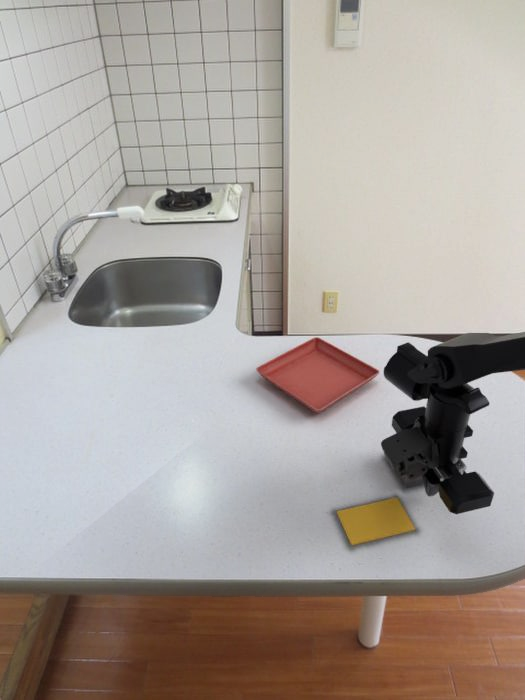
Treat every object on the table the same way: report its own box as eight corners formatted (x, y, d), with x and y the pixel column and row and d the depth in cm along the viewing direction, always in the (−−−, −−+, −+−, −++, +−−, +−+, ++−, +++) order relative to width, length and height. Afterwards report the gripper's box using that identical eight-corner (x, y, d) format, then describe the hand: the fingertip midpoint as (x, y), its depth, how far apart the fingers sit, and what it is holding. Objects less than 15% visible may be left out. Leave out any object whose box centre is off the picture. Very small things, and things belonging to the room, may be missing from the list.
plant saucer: (316, 347, 118) (316, 335, 116) (380, 383, 106) (381, 370, 104) (254, 381, 108) (254, 368, 106) (318, 425, 97) (318, 411, 95)
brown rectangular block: (433, 483, 85) (437, 467, 83) (405, 489, 84) (407, 474, 82) (412, 452, 90) (415, 437, 88) (386, 458, 89) (388, 443, 87)
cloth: (396, 498, 82) (397, 497, 82) (415, 530, 77) (415, 528, 77) (336, 512, 80) (336, 511, 80) (351, 545, 76) (351, 544, 75)
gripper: (364, 387, 78) (357, 462, 87) (426, 479, 63) (410, 558, 72) (432, 375, 80) (419, 448, 89) (508, 461, 65) (483, 539, 74)
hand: (430, 494), depth 81 cm, fingers closed
